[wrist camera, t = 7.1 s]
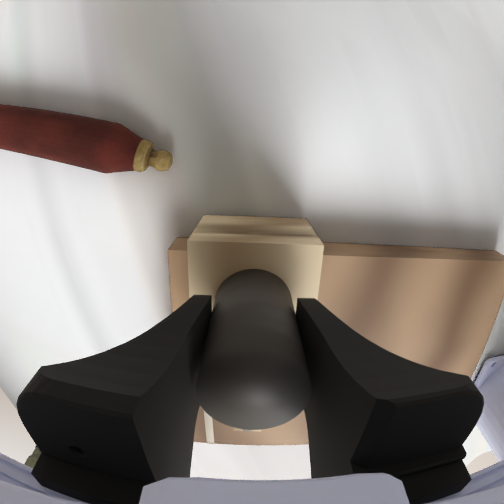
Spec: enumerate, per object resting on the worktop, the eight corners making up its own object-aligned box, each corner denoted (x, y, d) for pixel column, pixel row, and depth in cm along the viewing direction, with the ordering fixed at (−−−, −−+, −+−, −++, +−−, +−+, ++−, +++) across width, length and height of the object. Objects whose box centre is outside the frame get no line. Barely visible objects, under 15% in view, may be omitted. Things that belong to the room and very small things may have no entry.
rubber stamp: (306, 218, 16) (368, 313, 7) (285, 399, 19) (298, 521, 11) (203, 215, 15) (145, 307, 7) (210, 397, 19) (192, 518, 11)
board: (495, 250, 16) (513, 261, 15) (437, 407, 21) (446, 423, 19) (177, 237, 16) (167, 250, 14) (193, 421, 21) (189, 441, 19)
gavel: (199, 52, 11) (137, 276, 14) (207, 74, 15) (158, 243, 18) (-80, 48, 7) (-102, 188, 10) (-42, 53, 12) (-64, 176, 15)
